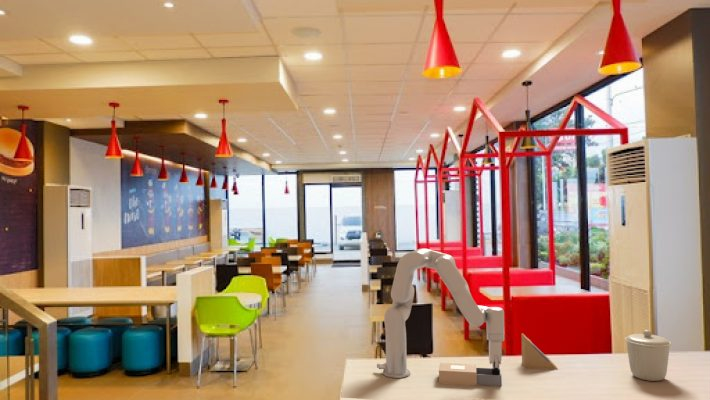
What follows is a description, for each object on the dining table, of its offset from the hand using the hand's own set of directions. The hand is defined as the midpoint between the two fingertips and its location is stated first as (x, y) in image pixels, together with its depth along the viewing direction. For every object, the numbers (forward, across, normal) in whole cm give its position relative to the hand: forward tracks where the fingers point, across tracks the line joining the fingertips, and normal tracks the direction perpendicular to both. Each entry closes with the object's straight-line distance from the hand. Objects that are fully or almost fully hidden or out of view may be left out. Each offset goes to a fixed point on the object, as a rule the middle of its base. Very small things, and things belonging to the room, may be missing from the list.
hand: (496, 378), depth 225 cm
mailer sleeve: (+2, 0, -16) cm, 17 cm away
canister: (+2, -19, +67) cm, 69 cm away
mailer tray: (+2, 0, -6) cm, 6 cm away
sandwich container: (+3, -28, +22) cm, 36 cm away
